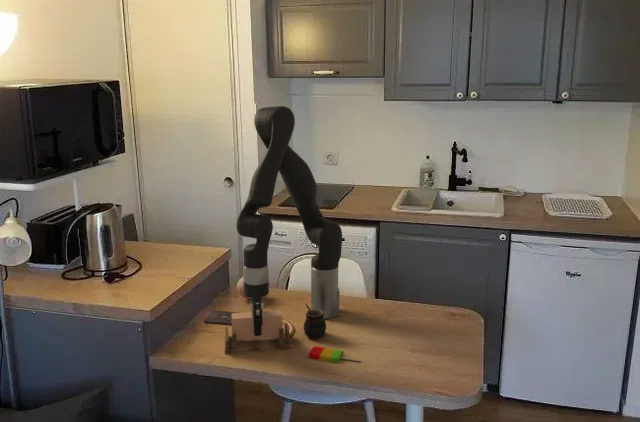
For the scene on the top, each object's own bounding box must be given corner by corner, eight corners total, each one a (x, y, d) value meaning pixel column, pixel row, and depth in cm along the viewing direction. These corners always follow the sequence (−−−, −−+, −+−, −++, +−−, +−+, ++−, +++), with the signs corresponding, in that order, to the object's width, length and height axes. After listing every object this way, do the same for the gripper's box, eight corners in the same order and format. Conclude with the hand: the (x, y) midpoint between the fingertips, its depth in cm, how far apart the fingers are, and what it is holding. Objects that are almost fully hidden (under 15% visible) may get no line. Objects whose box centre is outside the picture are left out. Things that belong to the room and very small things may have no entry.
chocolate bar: (213, 310, 205) (264, 314, 202) (213, 312, 205) (264, 317, 202) (203, 321, 197) (256, 326, 193) (204, 323, 197) (256, 328, 194)
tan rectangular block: (281, 331, 185) (280, 310, 183) (282, 336, 181) (282, 315, 179) (232, 334, 182) (231, 313, 180) (232, 340, 178) (231, 319, 177)
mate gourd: (318, 343, 183) (318, 313, 180) (298, 337, 187) (297, 308, 184) (330, 334, 189) (330, 305, 186) (310, 328, 193) (310, 300, 190)
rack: (288, 335, 188) (288, 317, 186) (291, 348, 179) (291, 330, 178) (224, 339, 185) (223, 321, 183) (224, 353, 176) (224, 334, 175)
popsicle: (313, 350, 179) (313, 345, 179) (362, 358, 175) (362, 353, 174) (307, 359, 174) (307, 353, 174) (357, 367, 170) (357, 361, 169)
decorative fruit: (241, 293, 221) (241, 268, 218) (263, 295, 219) (262, 269, 217) (234, 303, 212) (233, 277, 209) (256, 305, 210) (255, 278, 208)
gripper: (270, 287, 171) (271, 341, 175) (266, 270, 184) (267, 321, 189) (244, 288, 169) (245, 343, 174) (242, 271, 183) (244, 322, 187)
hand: (257, 331), depth 181 cm, fingers closed on tan rectangular block, 4 cm apart
